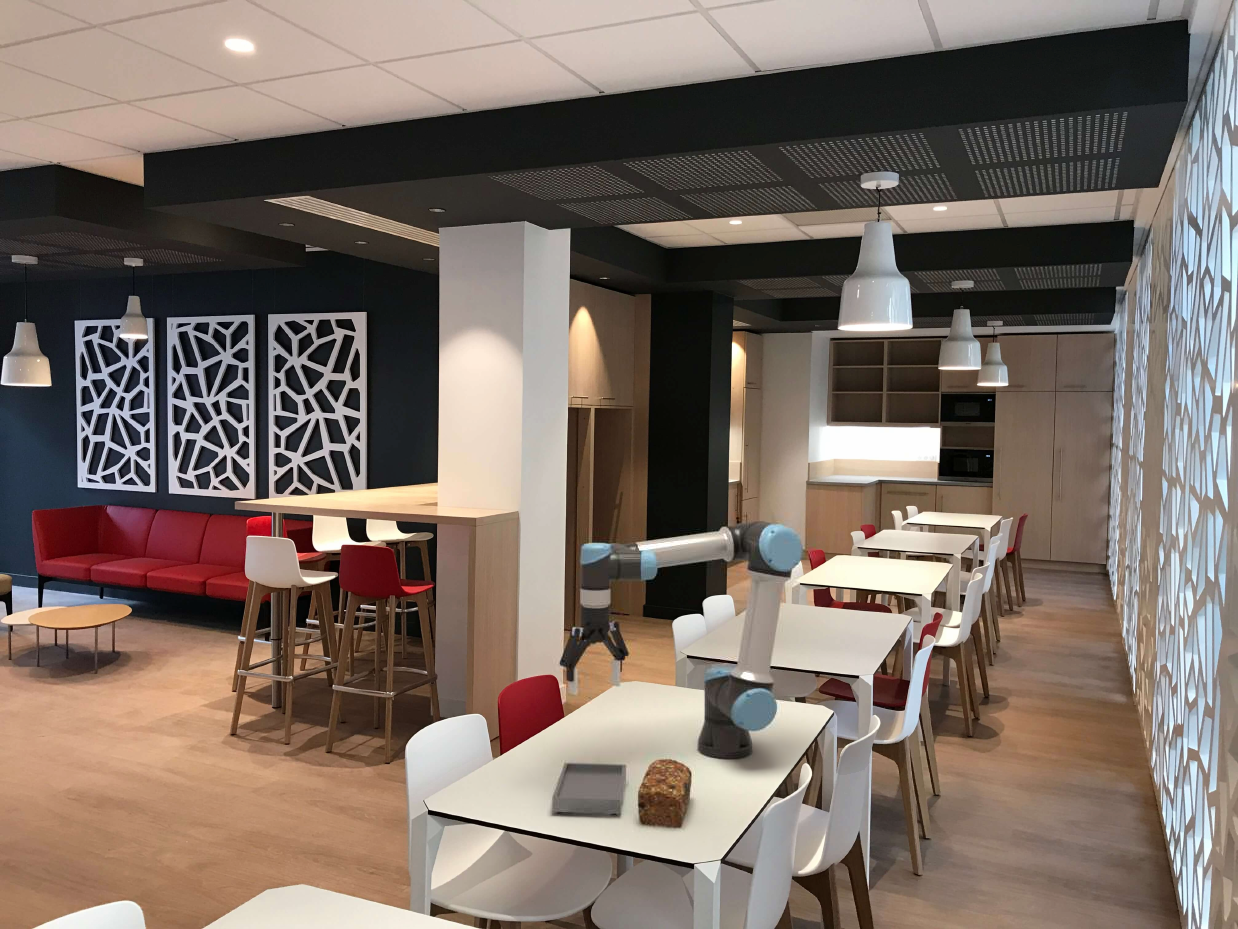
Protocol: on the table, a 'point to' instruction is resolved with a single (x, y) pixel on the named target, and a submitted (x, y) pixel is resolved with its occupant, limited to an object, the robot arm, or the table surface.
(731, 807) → the table surface
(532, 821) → the table surface
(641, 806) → the bread
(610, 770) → the grey serving tray
